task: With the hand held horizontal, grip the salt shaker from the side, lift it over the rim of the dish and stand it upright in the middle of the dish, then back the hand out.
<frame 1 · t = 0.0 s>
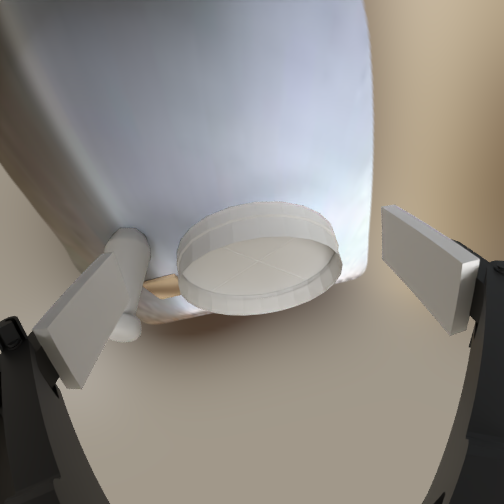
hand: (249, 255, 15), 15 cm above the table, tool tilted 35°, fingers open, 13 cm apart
dish: (256, 251, 44), on the table
cork coaster: (167, 286, 49), on the table
salt shaker: (129, 235, 37), on the table
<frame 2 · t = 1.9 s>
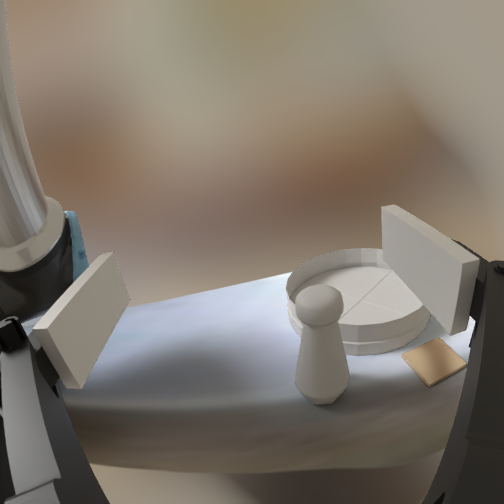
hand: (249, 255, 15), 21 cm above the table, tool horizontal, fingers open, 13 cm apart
dish: (360, 308, 45), on the table
cork coaster: (434, 362, 31), on the table
salt shaker: (322, 392, 32), on the table
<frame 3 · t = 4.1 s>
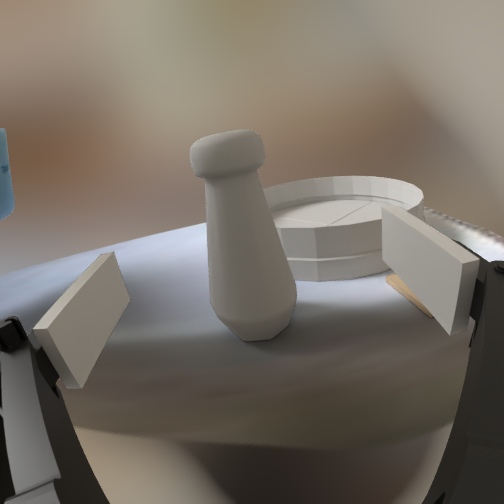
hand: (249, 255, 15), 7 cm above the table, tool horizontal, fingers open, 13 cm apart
dish: (330, 238, 36), on the table
cork coaster: (435, 287, 21), on the table
salt shaker: (259, 326, 22), on the table
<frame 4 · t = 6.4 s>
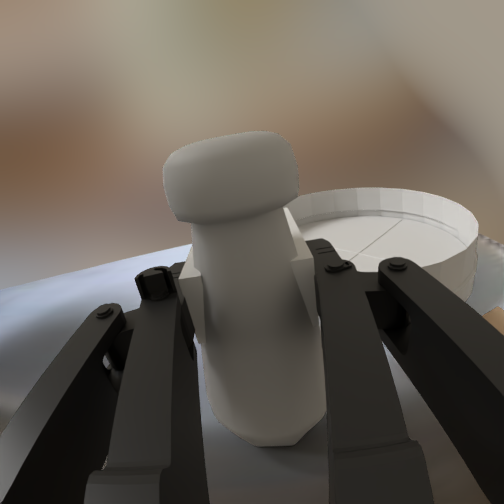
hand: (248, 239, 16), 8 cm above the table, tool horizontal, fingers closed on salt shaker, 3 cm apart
dish: (358, 269, 28), on the table
cork coaster: (500, 350, 14), on the table
salt shaker: (277, 418, 14), on the table, touching gripper
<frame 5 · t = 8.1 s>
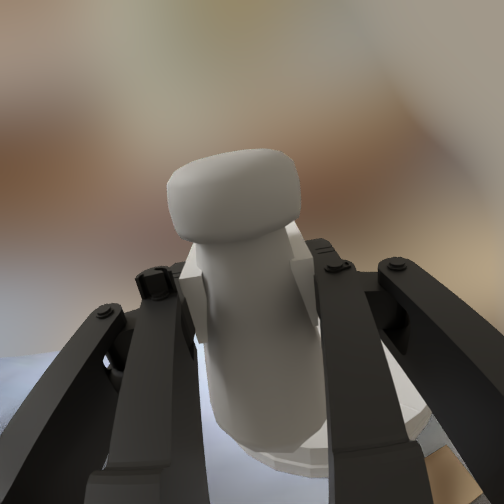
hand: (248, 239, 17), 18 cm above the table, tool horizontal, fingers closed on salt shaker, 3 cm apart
dish: (329, 384, 29), on the table
cork coaster: (433, 490, 15), on the table
salt shaker: (278, 425, 14), point 10 cm above the table, touching gripper
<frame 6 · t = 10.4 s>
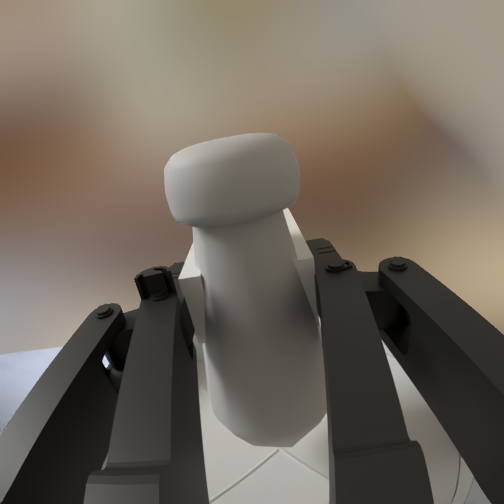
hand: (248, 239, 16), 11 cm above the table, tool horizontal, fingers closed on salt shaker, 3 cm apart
dish: (281, 460, 16), on the table, touching salt shaker
salt shaker: (278, 418, 14), point 3 cm above the table, touching dish, gripper
when the fingers open (11 cm above the table, at t = 10.7 s): salt shaker stays where it is, resting on dish.
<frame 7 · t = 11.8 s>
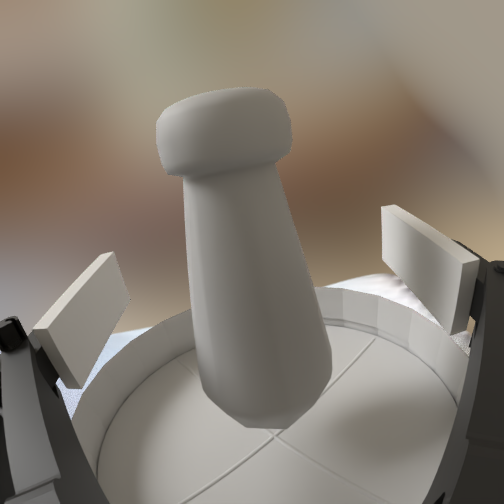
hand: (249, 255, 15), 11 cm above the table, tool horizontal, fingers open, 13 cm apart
dish: (277, 449, 16), on the table, touching salt shaker
salt shaker: (272, 400, 14), point 4 cm above the table, touching dish
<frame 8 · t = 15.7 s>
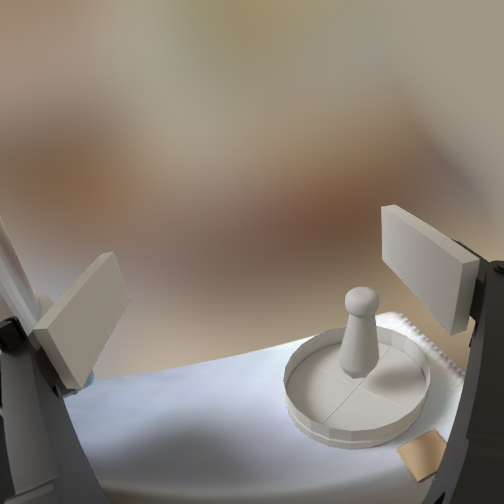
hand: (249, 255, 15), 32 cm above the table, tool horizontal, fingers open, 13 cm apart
dish: (356, 392, 43), on the table, touching salt shaker
cork coaster: (426, 455, 28), on the table
salt shaker: (357, 369, 41), point 4 cm above the table, touching dish
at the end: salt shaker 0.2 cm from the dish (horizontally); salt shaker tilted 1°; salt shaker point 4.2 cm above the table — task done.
